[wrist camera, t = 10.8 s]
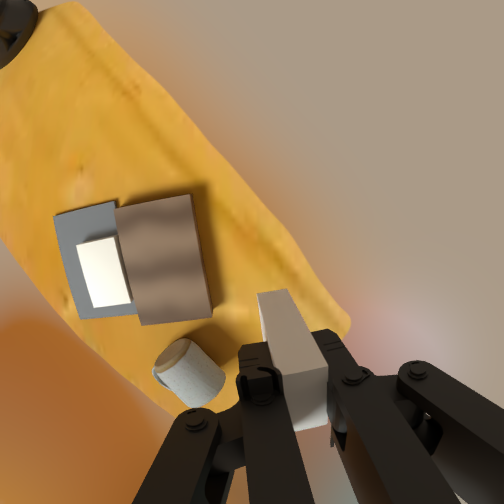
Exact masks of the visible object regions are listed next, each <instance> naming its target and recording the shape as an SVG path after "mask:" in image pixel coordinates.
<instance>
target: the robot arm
mask: <svg viewBox="0 0 504 504" xmlns="http://www.w3.org/2000/svg"><path fill="white" fill-rule="evenodd" d="M37 17H38V9H37V7H36V6H35V5H34V4H33V3H32V2H31V1H29V0H0V69H1V68H3V67H4V66H6V65H7V64H8V63H9V62H10V61H11V60H12V59H13V58H14V57H15V56H16V55H17V54H18V53H19V51H20V50H21V49H22V48H23V46H24V45H25V43H26V42H27V40H28V39H29V37H30V35H31V33H32V31H33V29H34V27H35V25H36V22H37ZM257 300H258V307H259V314H260V321H261V328H262V335H263V341H264V342H259V343H253V344H246V345H242V347H241V349H240V350H239V352H238V358H239V371H240V373H239V374H238V375H237V377H236V386H237V390H238V395H239V401H238V402H237V403H236V404H235V405H234V406H233V407H231V408H229V409H227V410H225V411H222V412H220V413H217V414H216V413H214V412H213V411H211V410H210V409H206V408H192V409H189V410H186V411H184V412H183V413H181V414H179V415H178V417H177V418H176V419H175V421H174V423H173V425H172V426H171V428H170V430H169V432H168V434H167V436H166V438H165V440H164V442H163V444H162V446H161V448H160V450H159V452H158V454H157V456H156V458H155V460H154V462H153V464H152V465H151V468H150V469H149V471H148V473H147V475H146V477H145V479H144V481H143V483H142V485H141V487H140V489H139V491H138V493H137V495H136V497H135V498H134V501H133V502H132V504H226V501H227V497H228V493H229V490H230V486H231V483H232V479H233V475H234V470H235V469H238V468H240V467H243V466H246V473H247V482H248V492H249V502H250V504H315V503H314V499H313V495H312V492H311V488H310V485H309V481H308V478H307V474H306V471H305V467H304V464H303V460H302V457H301V453H300V449H299V446H298V442H297V439H296V435H295V431H300V430H304V429H309V428H313V427H318V426H322V425H326V424H327V417H329V419H330V422H331V438H330V445H331V447H334V443H335V445H336V447H337V450H338V453H339V455H340V458H341V460H342V462H343V465H344V468H345V470H346V473H347V475H348V478H349V480H350V483H351V485H352V488H353V491H354V493H355V495H356V498H357V501H358V503H359V504H461V503H460V501H459V499H458V498H457V496H456V495H455V493H456V494H457V495H458V496H460V497H461V498H462V499H463V500H464V501H465V502H467V503H468V504H504V409H502V408H501V407H499V406H498V405H496V404H494V403H493V402H491V401H489V400H488V399H486V398H485V397H483V396H482V395H480V394H478V393H477V392H475V391H474V390H472V389H470V388H469V387H467V386H466V385H464V384H462V383H461V382H459V381H457V380H456V379H454V378H453V377H451V376H450V375H448V374H446V373H445V372H443V371H442V370H440V369H438V368H437V367H435V366H433V365H432V364H430V363H427V362H425V361H419V360H416V361H410V362H407V363H404V364H403V365H402V366H401V367H400V369H399V371H398V375H388V376H376V375H374V374H373V372H371V371H370V370H369V369H367V368H365V367H362V366H358V364H357V363H356V362H355V360H354V358H353V357H352V356H351V354H350V353H349V351H348V350H347V348H346V347H345V345H344V344H343V342H341V339H340V338H339V336H338V335H337V334H336V333H335V332H333V331H331V330H329V329H324V330H319V331H314V332H310V331H309V329H308V327H307V325H306V323H305V321H304V319H303V318H302V316H301V314H300V312H299V310H298V308H297V306H296V305H295V303H294V301H293V299H292V297H291V295H290V294H289V292H288V290H287V289H282V290H276V291H270V292H264V293H258V294H257ZM426 413H427V414H428V415H430V416H428V415H427V414H426ZM453 491H454V492H455V493H454V492H453Z"/></svg>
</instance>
